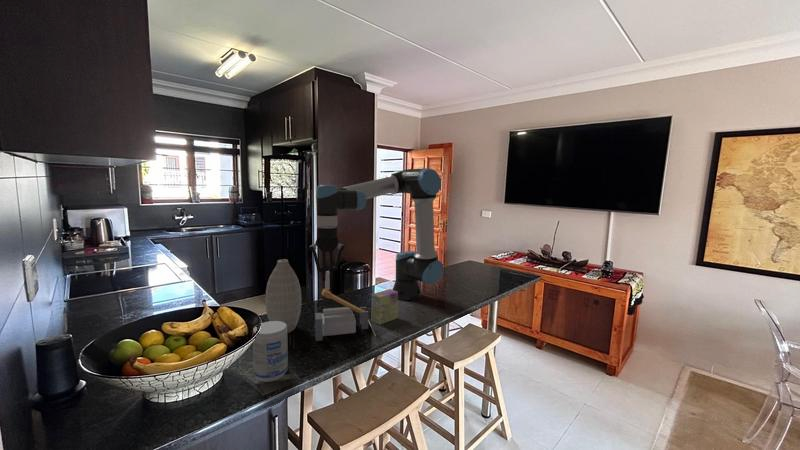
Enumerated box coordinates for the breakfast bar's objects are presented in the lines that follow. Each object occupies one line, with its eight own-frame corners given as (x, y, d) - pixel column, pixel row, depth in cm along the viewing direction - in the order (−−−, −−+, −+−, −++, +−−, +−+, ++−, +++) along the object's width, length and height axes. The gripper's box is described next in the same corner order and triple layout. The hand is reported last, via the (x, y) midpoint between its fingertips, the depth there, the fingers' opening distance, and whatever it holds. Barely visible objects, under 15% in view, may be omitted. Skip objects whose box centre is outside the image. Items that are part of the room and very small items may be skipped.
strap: (363, 313, 130) (366, 310, 130) (365, 317, 126) (367, 314, 127) (321, 291, 125) (323, 288, 125) (322, 295, 121) (324, 291, 121)
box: (389, 314, 144) (389, 288, 143) (398, 318, 140) (398, 291, 139) (370, 320, 137) (371, 293, 135) (379, 325, 133) (380, 297, 131)
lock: (321, 333, 122) (321, 312, 121) (322, 340, 116) (322, 318, 115) (315, 333, 121) (315, 313, 120) (315, 341, 116) (315, 319, 115)
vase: (291, 341, 117) (289, 265, 114) (259, 338, 119) (256, 263, 116) (307, 327, 130) (306, 257, 126) (278, 323, 132) (276, 255, 128)
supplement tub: (271, 387, 91) (270, 337, 89) (246, 379, 95) (244, 330, 93) (294, 369, 100) (294, 323, 98) (270, 362, 103) (269, 318, 102)
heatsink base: (367, 319, 138) (367, 301, 137) (376, 338, 121) (376, 317, 120) (308, 324, 132) (308, 305, 131) (309, 345, 115) (308, 324, 114)
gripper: (343, 225, 126) (343, 284, 128) (308, 225, 122) (309, 286, 125) (346, 227, 118) (345, 290, 121) (308, 228, 115) (309, 293, 118)
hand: (327, 288), depth 123 cm, fingers closed
